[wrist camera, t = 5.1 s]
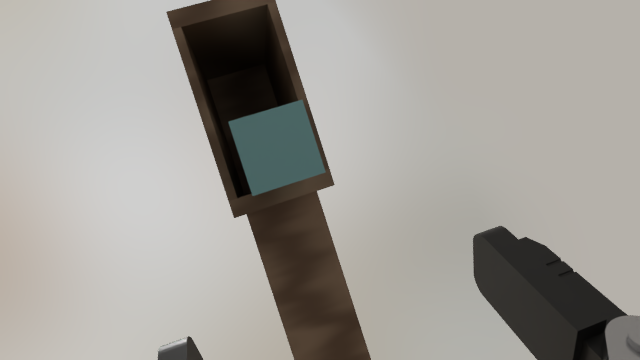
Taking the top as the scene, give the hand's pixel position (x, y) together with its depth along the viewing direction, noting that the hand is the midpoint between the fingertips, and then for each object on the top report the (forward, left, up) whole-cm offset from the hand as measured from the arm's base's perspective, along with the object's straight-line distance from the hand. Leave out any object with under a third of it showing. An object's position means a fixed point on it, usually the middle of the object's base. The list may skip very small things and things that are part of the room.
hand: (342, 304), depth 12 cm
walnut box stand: (0, +20, -28) cm, 34 cm away
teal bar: (0, +15, +3) cm, 16 cm away
